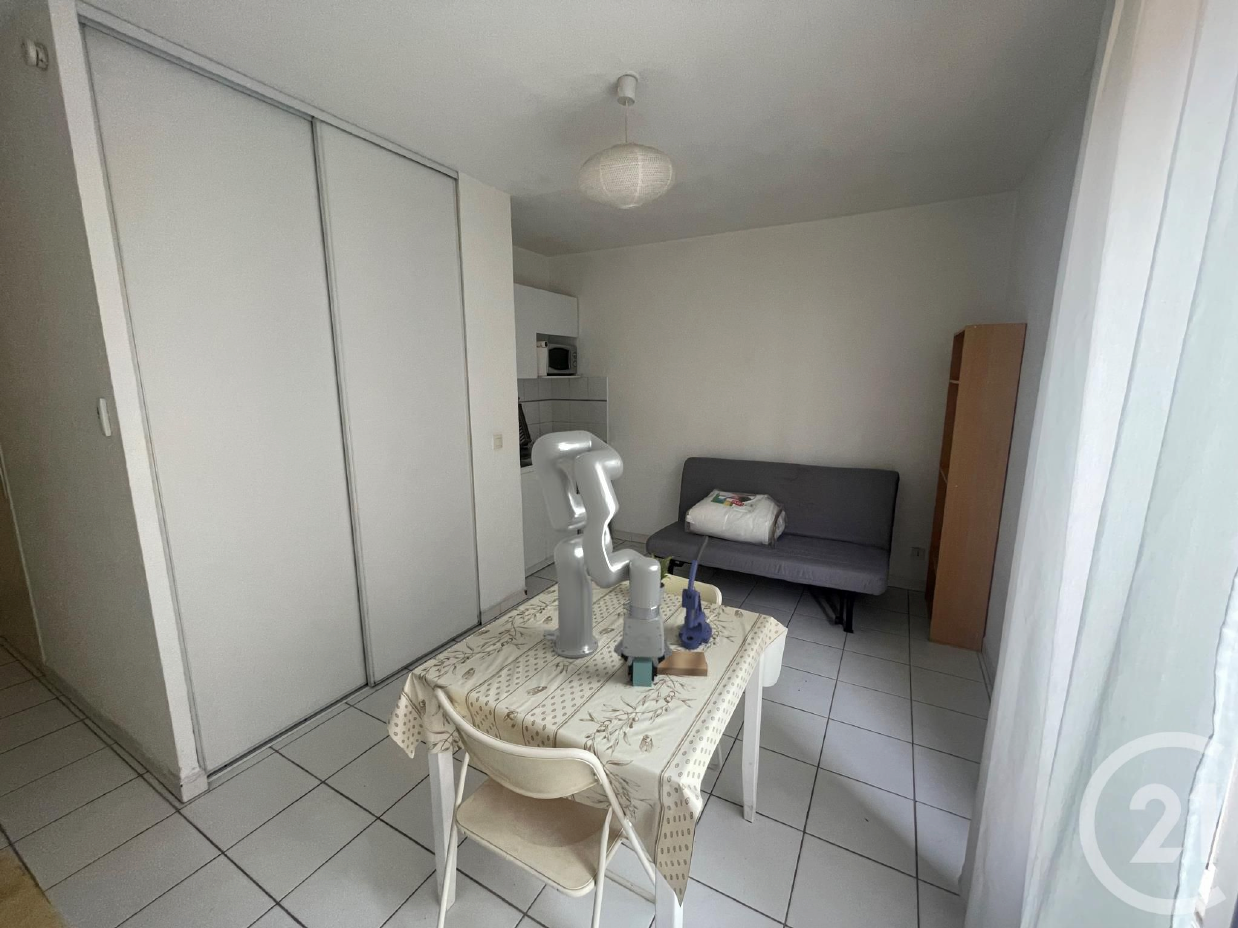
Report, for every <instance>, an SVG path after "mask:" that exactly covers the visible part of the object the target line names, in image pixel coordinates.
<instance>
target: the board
mask: <svg viewBox="0 0 1238 928" xmlns="http://www.w3.org/2000/svg"><path fill="white" fill-rule="evenodd" d="M633 660H634V657H633ZM652 660H653V659H652ZM708 672H709V670H708V665H707V661H706V656H705V652H704V651H692V650H688V651H686V650H685V651H684V650H672V655H670V656H669V657H667V658H665V660H663V661H662V662H661V663H660V664H659V666H658V667H657V675H661V676H662V675H663V676H666V675H667V676H687V677H690V676H691V677H708Z"/></svg>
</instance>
